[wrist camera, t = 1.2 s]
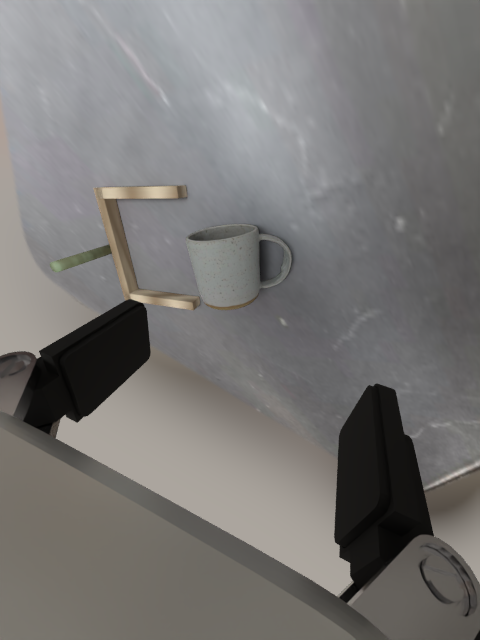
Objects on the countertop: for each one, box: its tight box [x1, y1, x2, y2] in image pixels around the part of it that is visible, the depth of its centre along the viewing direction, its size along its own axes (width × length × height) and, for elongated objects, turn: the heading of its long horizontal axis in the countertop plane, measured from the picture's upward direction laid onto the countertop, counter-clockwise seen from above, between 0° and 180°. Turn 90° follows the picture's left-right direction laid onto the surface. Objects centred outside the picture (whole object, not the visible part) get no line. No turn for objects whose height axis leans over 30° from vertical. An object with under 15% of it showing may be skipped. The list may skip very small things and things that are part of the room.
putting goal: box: [50, 186, 200, 310], centre depth 31 cm, size 13×15×10 cm
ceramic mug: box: [186, 224, 292, 310], centre depth 28 cm, size 11×8×8 cm
